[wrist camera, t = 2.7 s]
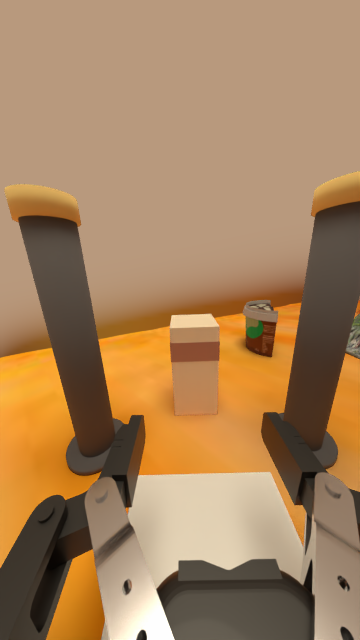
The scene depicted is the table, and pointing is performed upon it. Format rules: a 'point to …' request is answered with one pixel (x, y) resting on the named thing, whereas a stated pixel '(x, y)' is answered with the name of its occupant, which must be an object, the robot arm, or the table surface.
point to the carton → (194, 363)
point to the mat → (212, 522)
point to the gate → (82, 341)
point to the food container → (260, 327)
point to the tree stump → (354, 339)
